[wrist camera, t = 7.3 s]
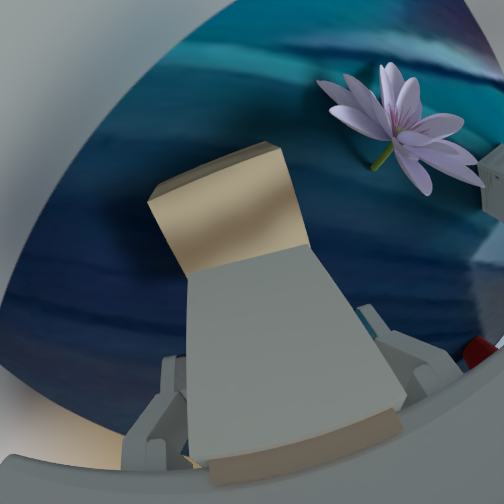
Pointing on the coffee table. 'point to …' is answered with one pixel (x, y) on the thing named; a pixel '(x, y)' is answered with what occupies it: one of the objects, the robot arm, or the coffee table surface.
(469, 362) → the plastic cup
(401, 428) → the pale two-tone block
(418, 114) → the water lily
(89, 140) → the coffee table surface
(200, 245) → the oak block
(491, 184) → the supplement box
